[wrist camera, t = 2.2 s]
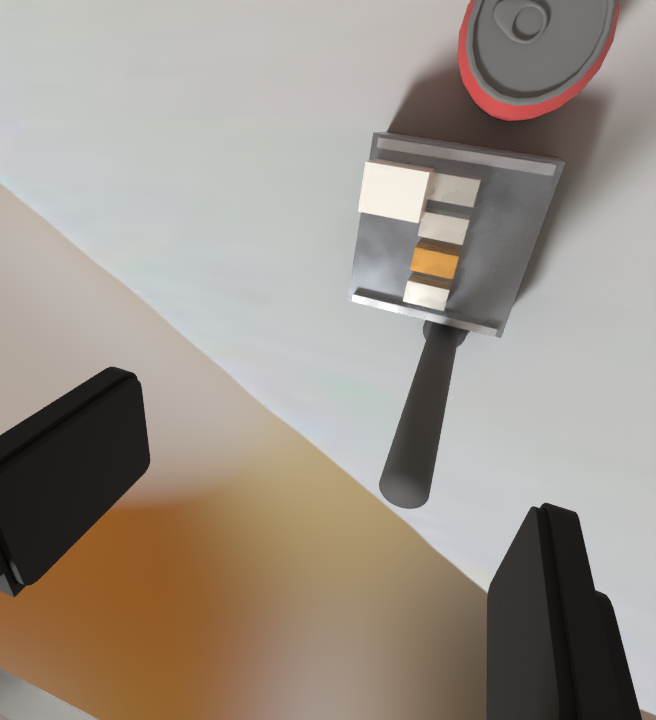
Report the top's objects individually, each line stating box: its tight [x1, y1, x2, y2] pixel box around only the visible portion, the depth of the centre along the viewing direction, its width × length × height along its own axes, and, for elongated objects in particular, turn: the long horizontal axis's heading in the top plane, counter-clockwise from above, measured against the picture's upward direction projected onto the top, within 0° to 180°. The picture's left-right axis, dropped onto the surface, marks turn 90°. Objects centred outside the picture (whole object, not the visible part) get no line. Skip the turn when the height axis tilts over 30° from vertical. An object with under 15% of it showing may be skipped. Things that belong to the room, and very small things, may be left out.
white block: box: [358, 159, 435, 223], centre depth 28 cm, size 4×3×3 cm
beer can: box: [457, 0, 619, 121], centre depth 23 cm, size 7×7×12 cm
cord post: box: [379, 320, 467, 509], centre depth 29 cm, size 4×4×20 cm
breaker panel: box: [348, 132, 566, 338], centre depth 31 cm, size 12×12×6 cm
